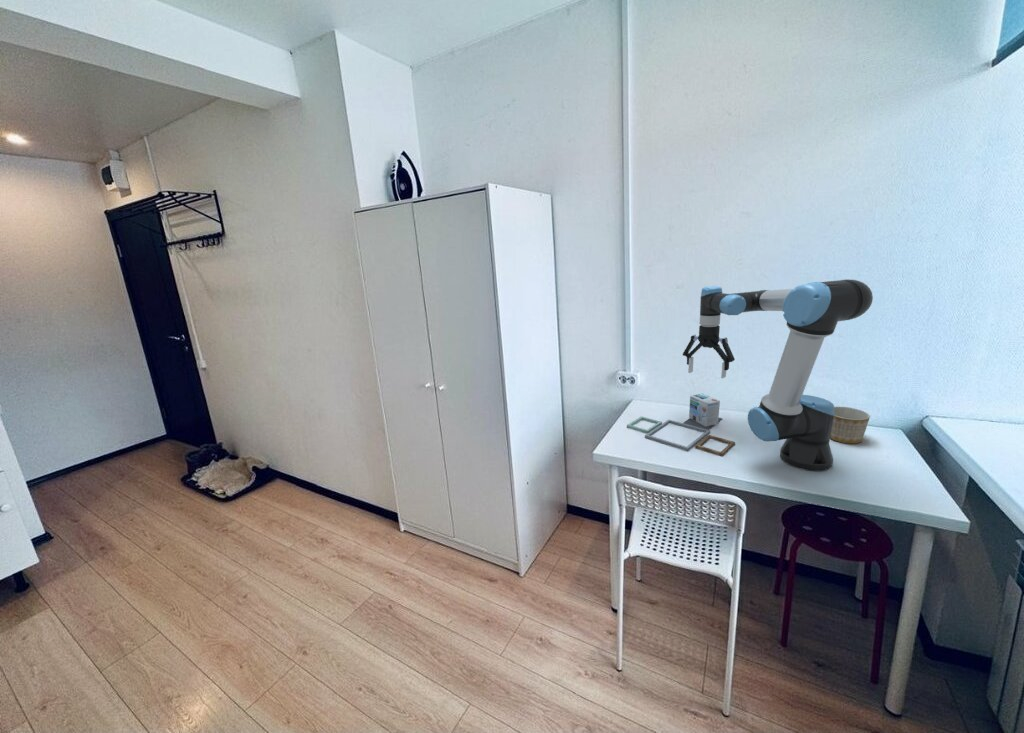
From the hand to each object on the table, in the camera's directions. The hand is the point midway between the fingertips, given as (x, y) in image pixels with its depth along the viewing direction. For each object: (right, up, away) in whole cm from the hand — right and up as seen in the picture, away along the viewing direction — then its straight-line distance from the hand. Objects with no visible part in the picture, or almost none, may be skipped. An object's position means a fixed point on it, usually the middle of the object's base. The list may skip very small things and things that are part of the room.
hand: (706, 374), depth 172 cm
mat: (+1, -21, +6) cm, 22 cm away
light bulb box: (+1, -21, +6) cm, 22 cm away
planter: (+45, -24, -16) cm, 53 cm away
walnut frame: (-4, -27, -15) cm, 31 cm away
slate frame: (-14, -25, -4) cm, 29 cm away
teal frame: (-24, -23, +7) cm, 34 cm away
